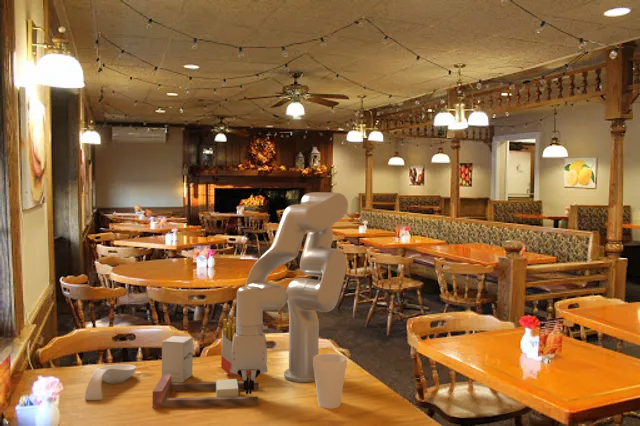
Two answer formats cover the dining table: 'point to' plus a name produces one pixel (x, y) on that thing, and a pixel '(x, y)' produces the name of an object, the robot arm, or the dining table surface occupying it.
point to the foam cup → (329, 378)
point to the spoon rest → (107, 378)
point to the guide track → (166, 386)
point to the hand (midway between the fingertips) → (248, 392)
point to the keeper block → (227, 388)
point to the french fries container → (228, 345)
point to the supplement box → (177, 358)
